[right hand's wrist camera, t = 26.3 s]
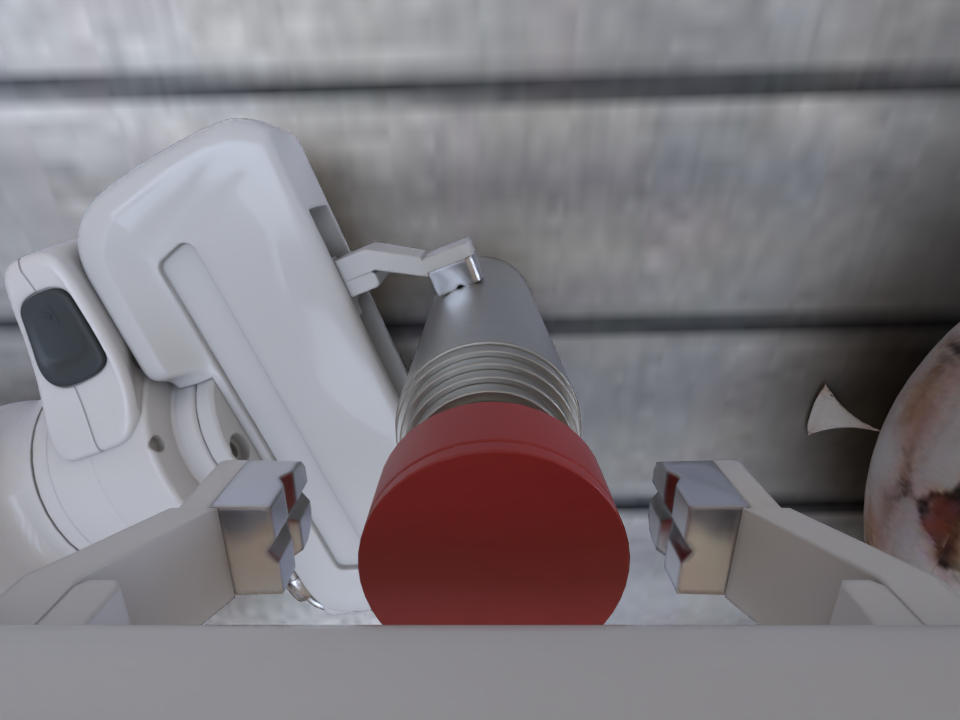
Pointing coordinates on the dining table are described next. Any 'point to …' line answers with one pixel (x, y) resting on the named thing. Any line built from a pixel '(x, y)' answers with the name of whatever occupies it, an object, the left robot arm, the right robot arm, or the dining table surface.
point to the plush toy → (913, 465)
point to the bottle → (486, 354)
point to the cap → (493, 525)
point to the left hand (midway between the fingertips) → (505, 328)
